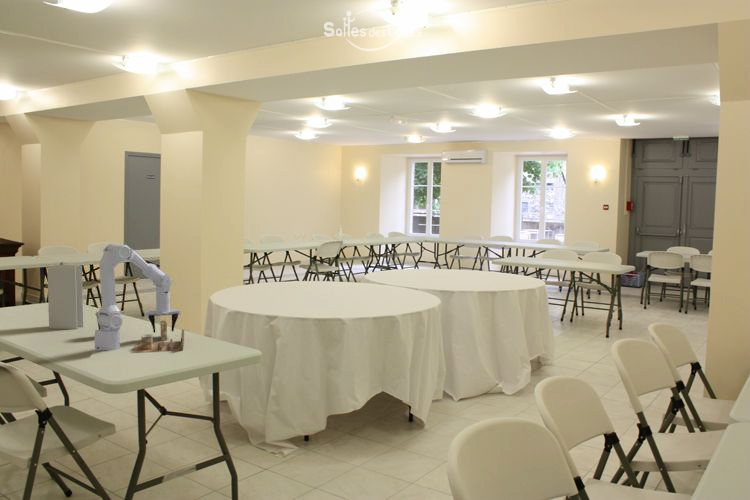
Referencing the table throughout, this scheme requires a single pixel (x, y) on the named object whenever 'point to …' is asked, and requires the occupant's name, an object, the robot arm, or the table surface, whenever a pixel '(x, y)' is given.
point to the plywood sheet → (163, 329)
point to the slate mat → (160, 336)
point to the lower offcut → (146, 345)
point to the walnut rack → (161, 346)
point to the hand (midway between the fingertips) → (163, 331)
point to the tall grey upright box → (65, 296)
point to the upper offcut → (147, 338)
